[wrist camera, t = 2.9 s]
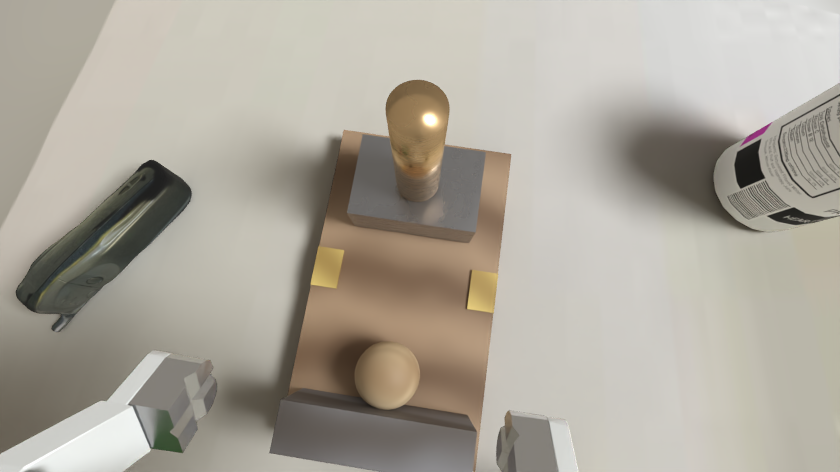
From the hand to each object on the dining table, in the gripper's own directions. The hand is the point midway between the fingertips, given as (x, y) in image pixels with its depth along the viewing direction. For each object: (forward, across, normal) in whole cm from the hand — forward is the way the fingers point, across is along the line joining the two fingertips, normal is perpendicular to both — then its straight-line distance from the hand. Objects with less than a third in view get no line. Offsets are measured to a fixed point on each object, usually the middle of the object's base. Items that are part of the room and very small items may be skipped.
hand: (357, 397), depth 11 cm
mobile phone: (+19, +23, +13) cm, 32 cm away
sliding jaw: (+22, 0, +5) cm, 23 cm away
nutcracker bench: (+20, 0, +11) cm, 23 cm away
